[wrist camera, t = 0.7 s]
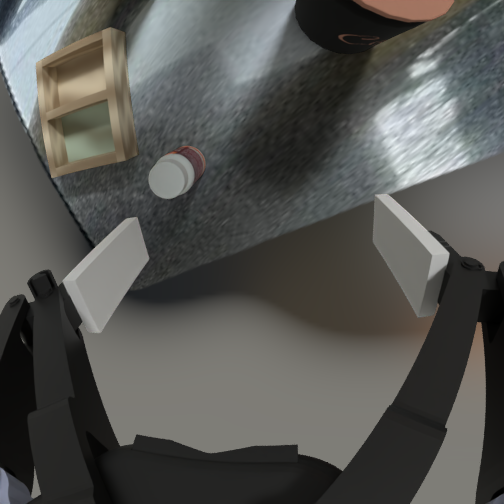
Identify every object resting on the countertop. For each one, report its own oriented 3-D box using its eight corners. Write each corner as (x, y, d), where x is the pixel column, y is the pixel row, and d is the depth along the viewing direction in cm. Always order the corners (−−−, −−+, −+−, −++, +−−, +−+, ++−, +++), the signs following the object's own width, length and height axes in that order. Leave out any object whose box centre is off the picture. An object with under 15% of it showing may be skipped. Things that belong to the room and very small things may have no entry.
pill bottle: (185, 137, 34) (162, 148, 26) (213, 162, 35) (197, 179, 28) (163, 165, 36) (136, 182, 28) (190, 188, 37) (169, 211, 30)
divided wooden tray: (52, 63, 28) (36, 62, 24) (125, 32, 27) (110, 27, 23) (67, 170, 36) (51, 178, 33) (139, 154, 35) (125, 160, 32)
